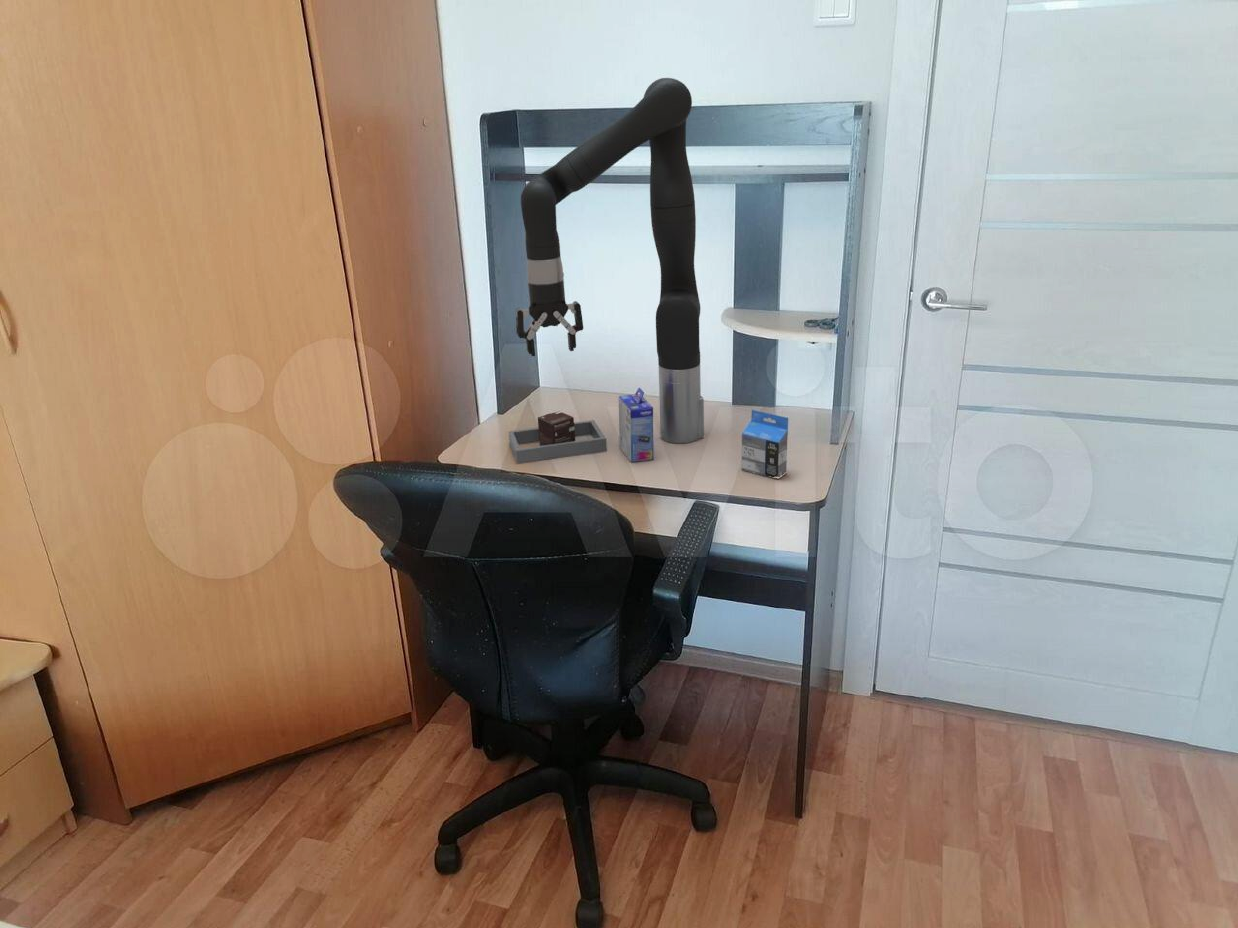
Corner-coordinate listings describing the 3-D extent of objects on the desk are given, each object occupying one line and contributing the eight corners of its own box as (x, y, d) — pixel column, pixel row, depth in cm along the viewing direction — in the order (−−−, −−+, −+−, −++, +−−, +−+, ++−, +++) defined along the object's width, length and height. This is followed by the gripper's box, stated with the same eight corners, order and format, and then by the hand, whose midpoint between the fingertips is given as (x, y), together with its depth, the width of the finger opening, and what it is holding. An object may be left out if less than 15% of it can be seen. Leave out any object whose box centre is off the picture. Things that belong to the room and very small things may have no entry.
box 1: (554, 455, 200) (551, 424, 197) (539, 447, 205) (536, 417, 202) (576, 447, 204) (574, 417, 201) (561, 440, 208) (559, 410, 205)
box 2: (594, 431, 211) (593, 419, 210) (606, 451, 201) (606, 438, 200) (509, 443, 207) (508, 431, 206) (517, 463, 197) (516, 451, 195)
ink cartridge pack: (740, 470, 188) (740, 414, 183) (750, 463, 191) (750, 409, 186) (777, 480, 183) (779, 423, 178) (787, 473, 186) (789, 417, 181)
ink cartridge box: (655, 460, 195) (653, 396, 189) (631, 463, 194) (628, 400, 188) (642, 443, 204) (640, 382, 198) (618, 447, 203) (615, 385, 197)
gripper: (574, 271, 196) (580, 344, 202) (509, 279, 193) (517, 352, 199) (582, 278, 189) (587, 353, 196) (515, 286, 186) (522, 361, 193)
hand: (552, 352), depth 197 cm, fingers open, 8 cm apart
